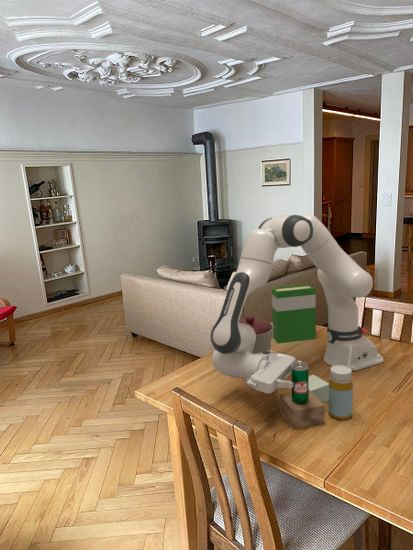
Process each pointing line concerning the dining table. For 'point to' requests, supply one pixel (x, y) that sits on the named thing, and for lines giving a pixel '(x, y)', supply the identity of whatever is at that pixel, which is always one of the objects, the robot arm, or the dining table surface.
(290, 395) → the walnut block
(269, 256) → the robot arm
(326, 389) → the sage block
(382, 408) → the dining table surface
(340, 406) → the bottle
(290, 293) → the green cereal box
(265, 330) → the canister
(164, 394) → the dining table surface
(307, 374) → the soda can
